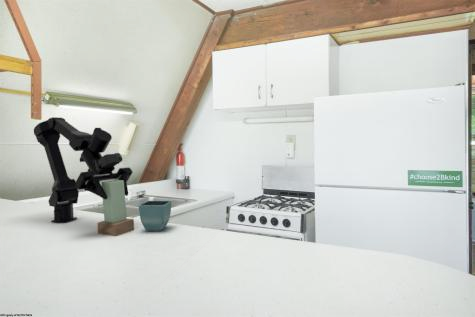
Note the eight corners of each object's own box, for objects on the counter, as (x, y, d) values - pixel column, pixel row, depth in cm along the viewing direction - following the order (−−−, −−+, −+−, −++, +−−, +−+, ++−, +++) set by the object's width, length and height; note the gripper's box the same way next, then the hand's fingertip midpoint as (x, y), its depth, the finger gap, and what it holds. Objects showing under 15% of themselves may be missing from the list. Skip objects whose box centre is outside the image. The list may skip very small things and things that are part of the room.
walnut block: (97, 234, 114) (97, 222, 114) (116, 228, 121) (115, 217, 121) (116, 237, 110) (115, 224, 110) (134, 230, 118) (133, 219, 117)
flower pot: (173, 226, 121) (172, 200, 121) (165, 232, 113) (164, 205, 112) (148, 226, 122) (147, 200, 122) (138, 232, 114) (137, 205, 113)
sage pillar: (104, 221, 115) (101, 182, 114) (117, 218, 119) (114, 180, 118) (113, 222, 112) (110, 182, 111) (126, 219, 116) (123, 180, 115)
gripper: (78, 146, 109) (101, 183, 103) (128, 144, 124) (150, 177, 118) (66, 170, 114) (87, 207, 108) (115, 166, 129) (136, 198, 123)
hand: (117, 196), depth 114 cm, fingers open, 8 cm apart
